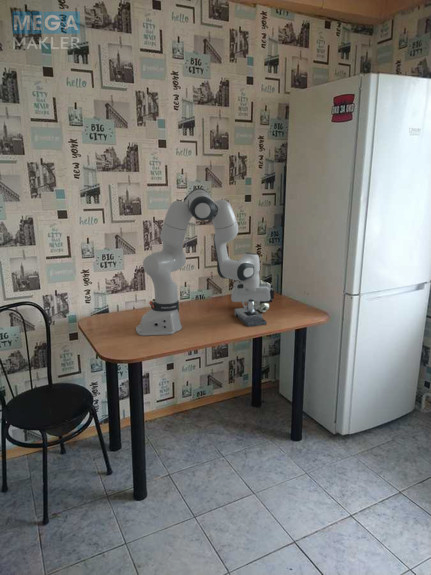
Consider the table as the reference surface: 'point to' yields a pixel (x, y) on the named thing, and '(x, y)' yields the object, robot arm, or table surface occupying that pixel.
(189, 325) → the table surface
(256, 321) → the square-holed grey plate
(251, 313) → the pin
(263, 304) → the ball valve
